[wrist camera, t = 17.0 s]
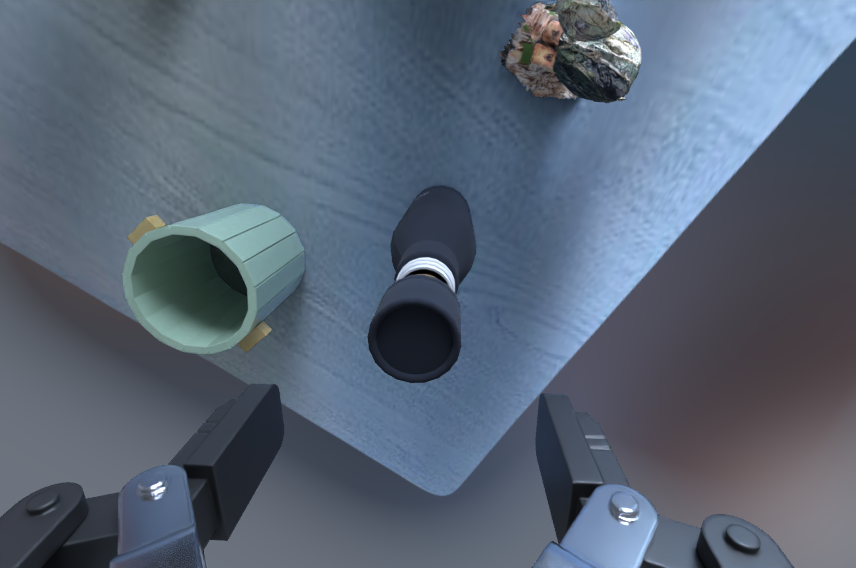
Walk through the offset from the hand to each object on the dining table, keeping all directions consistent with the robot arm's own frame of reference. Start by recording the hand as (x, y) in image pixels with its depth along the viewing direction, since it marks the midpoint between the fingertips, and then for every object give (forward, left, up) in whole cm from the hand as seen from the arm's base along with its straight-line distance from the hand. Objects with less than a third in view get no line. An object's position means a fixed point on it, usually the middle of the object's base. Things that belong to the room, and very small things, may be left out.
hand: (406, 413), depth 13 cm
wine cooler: (+19, -10, -35) cm, 41 cm away
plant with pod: (-18, -4, -35) cm, 39 cm away
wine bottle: (0, 0, -35) cm, 35 cm away
